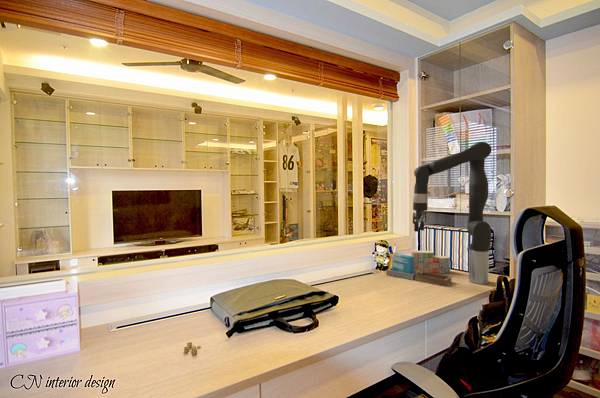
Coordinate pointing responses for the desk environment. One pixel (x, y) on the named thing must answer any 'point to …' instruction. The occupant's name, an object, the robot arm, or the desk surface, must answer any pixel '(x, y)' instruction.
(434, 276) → the walnut bin
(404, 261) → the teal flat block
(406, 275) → the grey bin
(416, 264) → the stack of blocks
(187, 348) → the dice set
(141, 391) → the desk surface
